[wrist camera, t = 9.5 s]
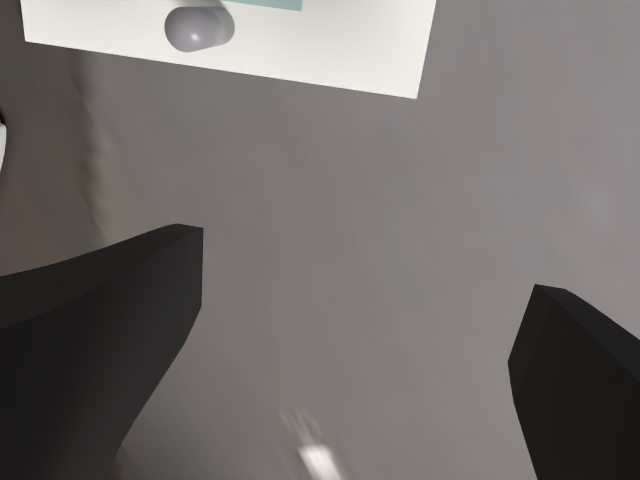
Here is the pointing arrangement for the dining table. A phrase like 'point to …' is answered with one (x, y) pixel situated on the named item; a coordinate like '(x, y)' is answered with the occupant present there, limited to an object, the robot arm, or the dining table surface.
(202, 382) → the dining table surface
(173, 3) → the dock
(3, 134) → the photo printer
